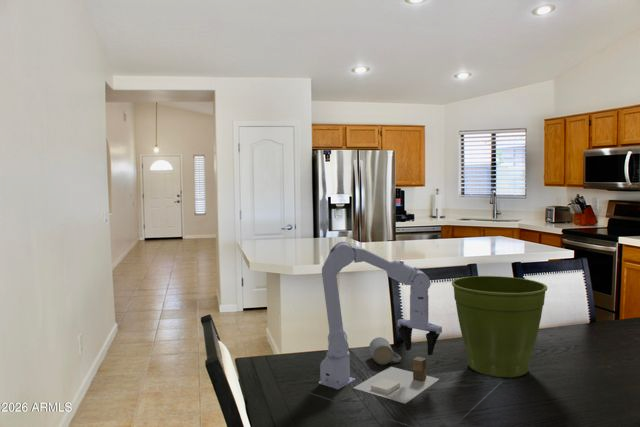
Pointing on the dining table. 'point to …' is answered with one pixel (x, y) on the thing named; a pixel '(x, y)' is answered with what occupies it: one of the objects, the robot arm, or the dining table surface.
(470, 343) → the plant pot
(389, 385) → the tile
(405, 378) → the mat
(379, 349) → the ceramic mug
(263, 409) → the dining table surface
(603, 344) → the dining table surface
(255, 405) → the dining table surface
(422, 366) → the wooden block
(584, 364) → the dining table surface
